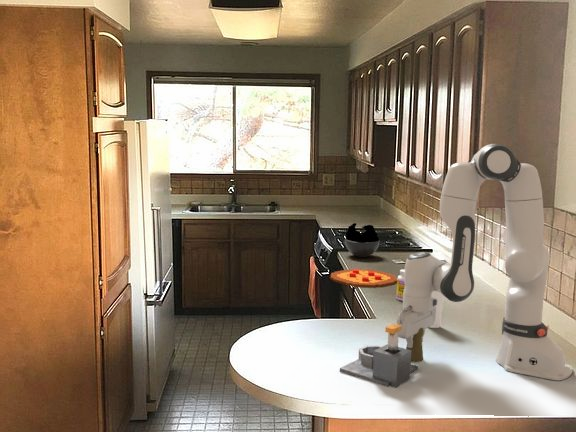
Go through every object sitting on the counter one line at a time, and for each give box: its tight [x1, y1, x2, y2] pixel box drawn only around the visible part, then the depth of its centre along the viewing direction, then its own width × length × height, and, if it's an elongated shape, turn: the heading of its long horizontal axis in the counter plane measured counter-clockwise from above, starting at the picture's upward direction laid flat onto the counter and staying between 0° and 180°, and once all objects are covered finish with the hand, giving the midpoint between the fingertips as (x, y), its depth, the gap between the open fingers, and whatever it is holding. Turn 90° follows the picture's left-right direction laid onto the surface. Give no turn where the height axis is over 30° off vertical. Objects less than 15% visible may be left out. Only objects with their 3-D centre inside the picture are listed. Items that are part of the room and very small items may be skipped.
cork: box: [405, 328, 425, 363], centre depth 202 cm, size 6×6×11 cm
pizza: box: [330, 268, 398, 288], centre depth 309 cm, size 32×32×3 cm
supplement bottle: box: [396, 268, 405, 302], centre depth 273 cm, size 7×7×13 cm
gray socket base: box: [339, 343, 419, 388], centre depth 192 cm, size 20×18×9 cm
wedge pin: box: [385, 323, 402, 354], centre depth 184 cm, size 3×5×9 cm, turn 140°
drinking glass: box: [428, 291, 445, 329], centre depth 236 cm, size 7×7×15 cm
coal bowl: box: [344, 222, 381, 258], centre depth 360 cm, size 20×20×19 cm
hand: (414, 344), depth 202 cm, fingers closed on cork, 4 cm apart
